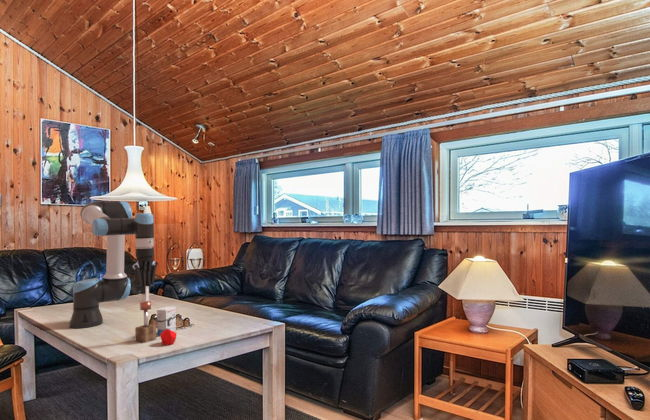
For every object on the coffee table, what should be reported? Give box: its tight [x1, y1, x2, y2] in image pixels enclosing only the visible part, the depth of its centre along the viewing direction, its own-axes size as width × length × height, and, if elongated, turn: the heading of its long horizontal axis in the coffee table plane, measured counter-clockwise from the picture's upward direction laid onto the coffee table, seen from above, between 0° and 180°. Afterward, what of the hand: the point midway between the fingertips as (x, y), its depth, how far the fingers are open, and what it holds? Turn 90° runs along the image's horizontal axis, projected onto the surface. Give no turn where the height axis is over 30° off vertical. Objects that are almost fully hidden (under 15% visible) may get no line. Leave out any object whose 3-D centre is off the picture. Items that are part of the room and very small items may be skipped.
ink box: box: [156, 305, 177, 336], centre depth 196 cm, size 8×5×12 cm, turn 167°
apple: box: [159, 329, 178, 346], centre depth 179 cm, size 7×7×8 cm
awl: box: [139, 300, 152, 327], centre depth 185 cm, size 4×4×15 cm
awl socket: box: [134, 324, 157, 343], centre depth 184 cm, size 6×6×6 cm
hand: (145, 300), depth 185 cm, fingers closed
